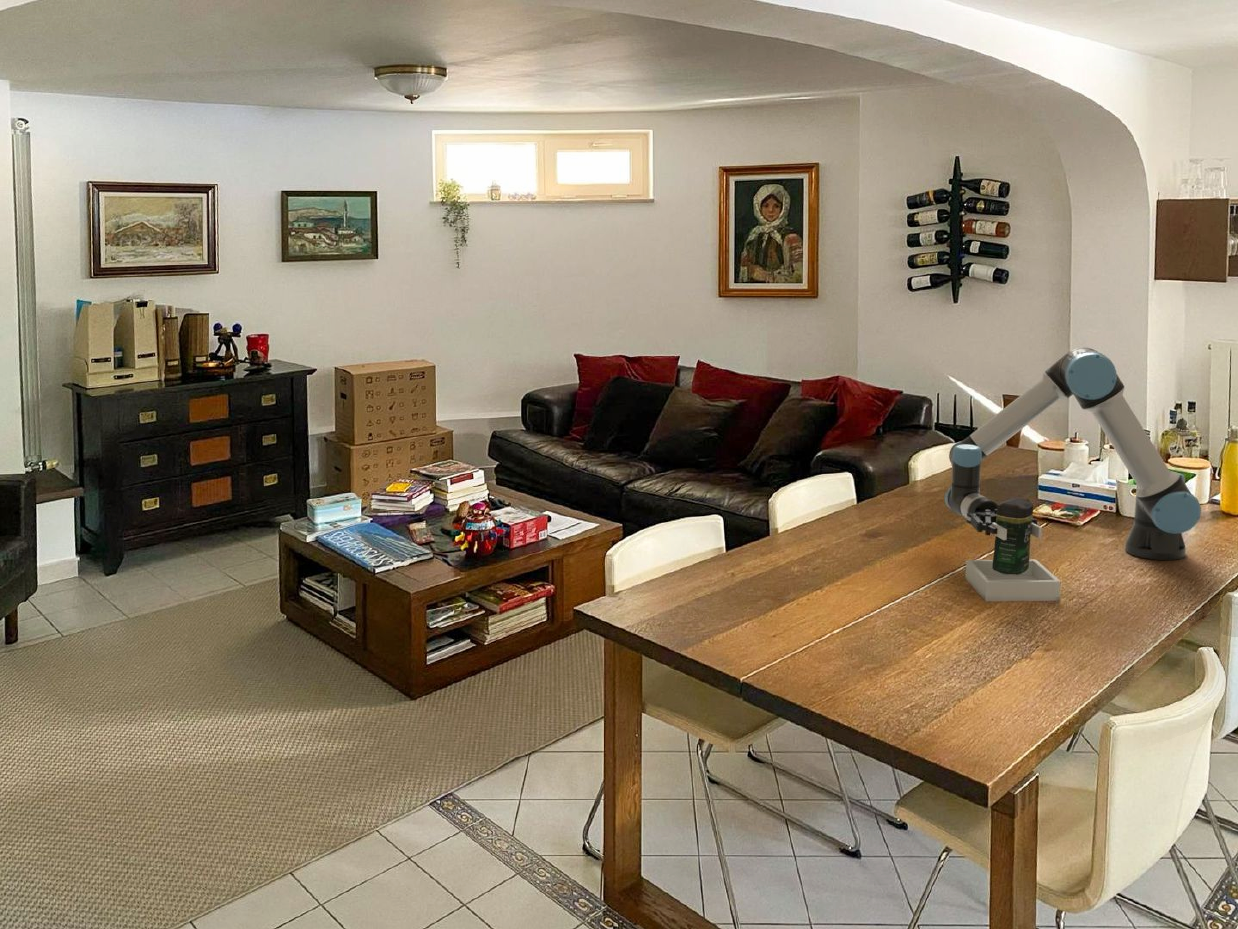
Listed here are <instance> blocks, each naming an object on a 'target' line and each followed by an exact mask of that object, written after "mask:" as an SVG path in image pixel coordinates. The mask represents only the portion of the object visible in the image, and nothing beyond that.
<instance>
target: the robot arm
mask: <svg viewBox="0 0 1238 929" xmlns="http://www.w3.org/2000/svg"><path fill="white" fill-rule="evenodd" d="M1042 374H1043V375H1042V378H1041V379H1039V380H1038V381H1037V382H1036V383H1034V385H1032V386H1030V388H1028V389H1027V390H1026V391H1025V392H1023V393H1022V394H1020V395H1019V396H1018V397H1017V398H1016V399H1014V400H1013V401H1011V403H1009V404H1008V405H1007V406H1005V407H1003V408H1002V409H1001V410H1000V411H998V412H997V413H996V414H995V415H993V416H992V417H991V418H990V419H989V420H988V421H986V422H985V423H984V424H982V425H981V426H980V427H978V428H977V429H976V430H975V431H973V432H972V433H971V434H969V436H967V437H966V438H964V439H963V440H961V441H958V442H956V443H954V444H953V445H952V446H951V448H950V451H949V453H948V459H949V462H950V465H951V484H950V485H951V486H950V487H949V488H948V489H947V490H946V493H945V494H944V501H945V504H946V507H948V508H949V509H950V510H951V511H952V512H953V513H955V514H958V515H960V516H961V517H963V518H965V519H966V523H967V524H970V525H971V527H973V529H975V530H976V532H977V533H982V532H983V531H985V532H984V534H985V536H991V534H993V535H994V536H997V537H999V538H1001V539H1002V540H1006V538H1007V529H1005V528H1003V527H1002V526H1000V525H998V524H996V514H997V513H996V512H997V506H998V503H997V502H995V501H993V500H991V499H989V498H987V497H986V496H984V495H982V494H980V489H981V472H982V469H981V467H982V461H983V460H984V459H985V458H986V457H987V456H989V455H990V454H992V453H993V452H994V451H995V450H997V449H998V448H999V447H1000V446H1002V445H1004V443H1006V442H1007V441H1008V440H1010V439H1011V438H1013V436H1015V435H1016V434H1017V433H1018V432H1020V431H1021V430H1022V429H1024V428H1025V427H1027V426H1028V425H1029V424H1030V423H1031V422H1033V421H1034V420H1036V419H1037V418H1038V417H1039V416H1040V415H1043V413H1044V412H1046V411H1047V410H1048V409H1050V408H1051V407H1053V405H1055V404H1056V403H1058V402H1059V401H1060V400H1068V399H1070V397H1071V396H1073V397H1074V398H1075V400H1076V401H1077V403H1078V404H1079V406H1080V408H1081V409H1082V410H1083V411H1088V412H1090V413H1092V415H1093V417H1094V418H1095V420H1096V422H1097V423H1098V426H1100V428H1101V429H1102V431H1103V433H1104V435H1105V436H1106V438H1107V439H1108V441H1109V442H1110V445H1111V446H1112V447H1113V448H1114V450H1115V452H1116V453H1117V456H1119V458H1120V460H1121V462H1122V463H1123V464H1124V466H1125V468H1126V469H1127V472H1128V473H1129V474H1130V476H1131V477H1132V479H1133V481H1134V482H1135V484H1136V491H1135V506H1134V507H1135V508H1134V518H1133V519H1134V520H1133V524H1132V526H1131V529H1130V530H1129V534H1128V536H1127V538H1126V540H1125V544H1124V551H1125V552H1126V553H1128V554H1130V555H1132V556H1134V557H1138V558H1143V559H1149V560H1158V561H1176V560H1181V559H1183V558H1185V556H1186V549H1187V548H1186V543H1185V540H1184V537H1183V533H1185V532H1189V531H1190V530H1192V528H1194V527H1195V526H1196V525H1197V524H1198V523H1199V520H1200V519H1201V516H1202V506H1201V504H1200V501H1199V499H1198V498H1197V497H1196V496H1195V495H1194V494H1193V493H1191V491H1190V489H1189V488H1188V486H1187V484H1186V476H1185V475H1184V473H1183V474H1182V473H1178V472H1175V471H1172V470H1170V468H1169V467H1168V465H1167V464H1166V463H1165V461H1164V459H1163V458H1162V456H1161V455H1160V453H1159V452H1158V450H1157V448H1156V447H1155V445H1154V443H1153V442H1152V440H1151V439H1150V437H1149V436H1148V433H1147V432H1146V430H1145V429H1144V427H1143V426H1142V424H1141V422H1140V421H1139V420H1138V418H1137V416H1136V415H1135V412H1134V411H1133V410H1132V408H1131V407H1130V405H1129V403H1128V402H1127V400H1126V399H1125V396H1124V392H1125V385H1124V383H1123V382H1122V380H1121V379H1120V377H1119V375H1118V374H1117V370H1116V367H1115V364H1114V363H1113V362H1112V360H1111V359H1110V358H1109V357H1107V356H1106V355H1105V354H1103V353H1101V352H1098V350H1095V349H1093V348H1089V347H1077V348H1075V349H1072V350H1070V351H1068V352H1066V353H1065V354H1064V355H1063V356H1062V357H1060V358H1059V359H1058V360H1057V361H1056V362H1055V363H1053V365H1051V366H1050V367H1049V368H1047V369H1046V370H1045V371H1044V372H1043V373H1042ZM1042 533H1043V527H1042V526H1041V525H1038V518H1034V517H1032V524H1031V535H1032V536H1034V537H1036V538H1037V539H1041V538H1042V537H1043V536H1042V535H1043V534H1042Z"/></svg>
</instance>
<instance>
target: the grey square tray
mask: <svg viewBox="0 0 1238 929" xmlns="http://www.w3.org/2000/svg"><path fill="white" fill-rule="evenodd" d="M992 566H993V559H966V560H965V575H964V576H965V580H966V581H967V582H968V584H969V585H970V586H971V587H972V588H973V589H974V590H975V591H976V592H977V594H978V595H979V596H980V595H981V596H980V597H981V598H982V600H984V601H985V602H1059V601H1061V600H1060V599H1061V598H1060V597H1061V583H1062V582H1061V580H1060V579H1059V578H1058V577H1057V576H1055V574H1053V572H1051V571H1049V570H1048V569H1047V568H1046V567H1045V565H1043V564H1042V563H1041V562H1039V561H1038V560H1037V559H1030V558H1029V568H1028V569H1027V570H1026V571H1025V572H1024V573H1022V574H1019V575H1015V574H1009V575H1006V574H1001V573H999V572H997V571H995V570H993V568H992Z"/></svg>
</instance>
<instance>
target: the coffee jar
mask: <svg viewBox="0 0 1238 929" xmlns="http://www.w3.org/2000/svg"><path fill="white" fill-rule="evenodd" d="M997 505H998V506H997V512H996V513H997V514H996V524H998V525H1000V526H1002V527H1003V528H1005V529H1007V538H1006V540H1002V539H1001V538H999V537H997V536H995V535H994V536H995V538H994V539H995V540H994V547H993V556H992V557H993V558H992V560H993V566H992V568H993V570H995V571H997V572H999V573H1001V574H1006V575H1009V574H1015V575H1019V574H1022V573H1024V572H1025V571H1026V570H1027V569H1028V568H1029V559H1030V553H1031V552H1030V551H1031V548H1030V547H1031V535H1032V534H1031V524H1032V518H1034V517H1033V516H1034V504H1033V503H1032V502H1031V501H1030V500H1029V499H1027V498H1023V497H1022V498H1021V497H1015V496H1014V497H1012V498H1010V499H1005V500H1004V501H1001V502H1000V503H997Z"/></svg>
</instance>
